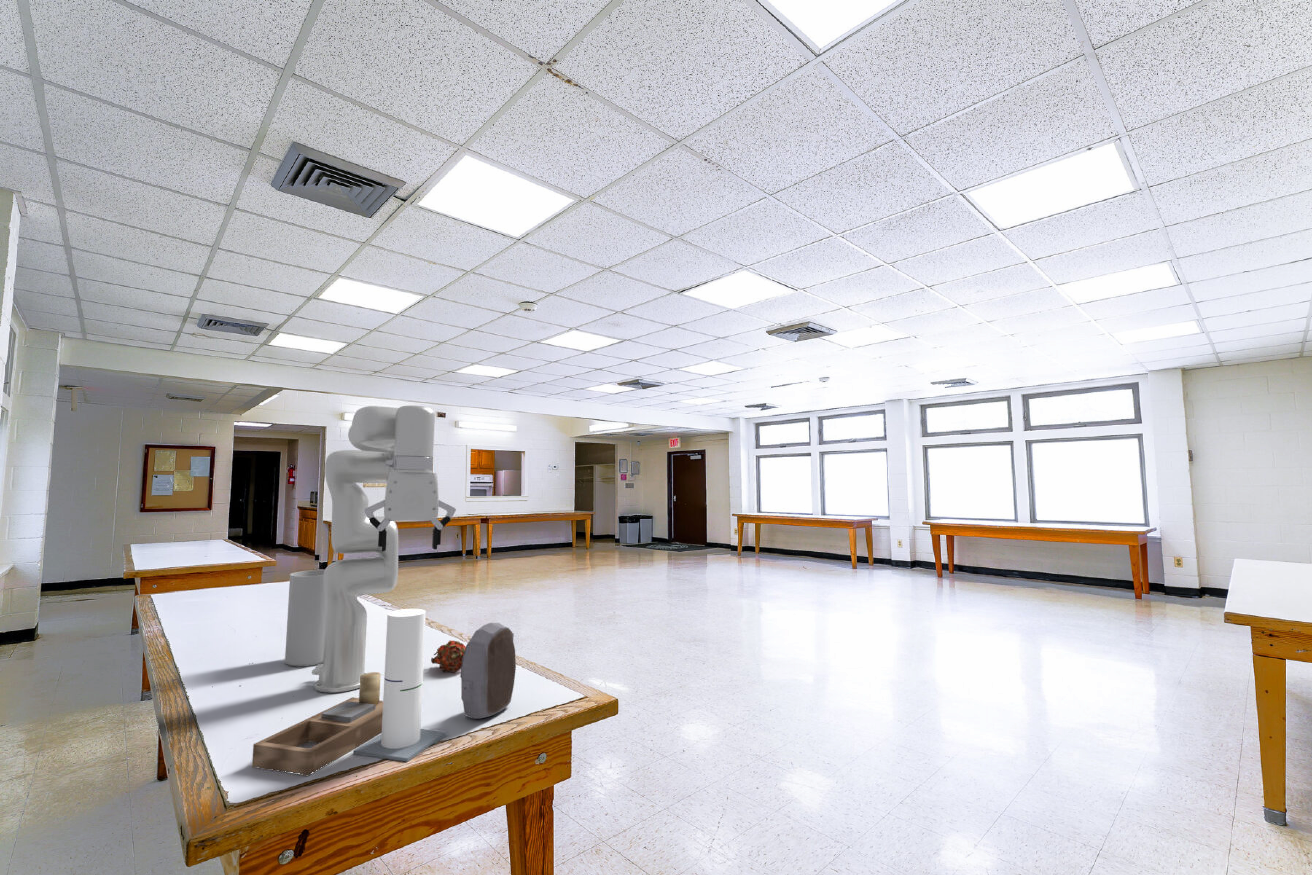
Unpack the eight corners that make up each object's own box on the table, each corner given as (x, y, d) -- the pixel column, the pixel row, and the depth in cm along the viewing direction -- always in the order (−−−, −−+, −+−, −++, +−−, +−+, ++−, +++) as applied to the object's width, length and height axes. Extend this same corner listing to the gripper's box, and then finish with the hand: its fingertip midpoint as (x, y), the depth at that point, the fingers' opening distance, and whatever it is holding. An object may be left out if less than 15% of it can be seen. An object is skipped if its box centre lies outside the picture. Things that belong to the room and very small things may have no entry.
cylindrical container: (389, 732, 119) (395, 608, 121) (424, 732, 120) (430, 608, 122) (375, 748, 112) (381, 616, 114) (413, 748, 113) (419, 616, 114)
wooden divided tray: (252, 766, 106) (255, 710, 106) (351, 715, 129) (353, 669, 130) (308, 775, 103) (311, 717, 103) (399, 721, 126) (401, 674, 127)
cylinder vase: (318, 667, 162) (323, 576, 164) (274, 667, 162) (280, 576, 164) (343, 654, 174) (348, 570, 176) (302, 653, 174) (307, 569, 176)
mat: (353, 753, 111) (353, 750, 111) (395, 728, 123) (395, 725, 123) (407, 761, 108) (407, 758, 108) (445, 734, 120) (445, 731, 120)
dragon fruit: (460, 681, 156) (437, 678, 164) (482, 656, 163) (459, 654, 170) (442, 659, 154) (420, 656, 161) (465, 634, 160) (442, 633, 167)
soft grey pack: (479, 727, 124) (482, 631, 125) (447, 721, 127) (451, 627, 128) (519, 702, 138) (522, 616, 139) (490, 698, 141) (492, 613, 142)
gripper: (366, 464, 113) (361, 553, 112) (459, 466, 120) (456, 549, 119) (366, 465, 120) (362, 549, 118) (454, 467, 127) (451, 546, 126)
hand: (409, 549), depth 119 cm, fingers open, 9 cm apart
